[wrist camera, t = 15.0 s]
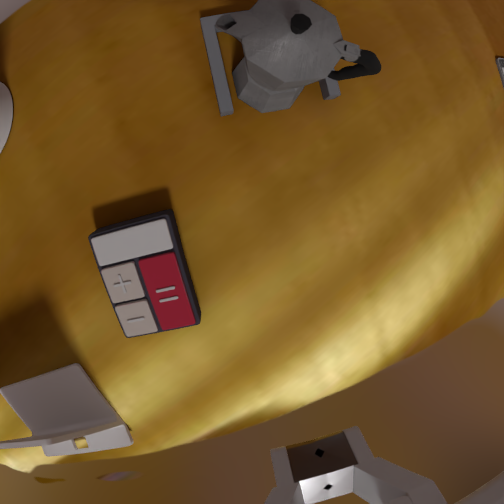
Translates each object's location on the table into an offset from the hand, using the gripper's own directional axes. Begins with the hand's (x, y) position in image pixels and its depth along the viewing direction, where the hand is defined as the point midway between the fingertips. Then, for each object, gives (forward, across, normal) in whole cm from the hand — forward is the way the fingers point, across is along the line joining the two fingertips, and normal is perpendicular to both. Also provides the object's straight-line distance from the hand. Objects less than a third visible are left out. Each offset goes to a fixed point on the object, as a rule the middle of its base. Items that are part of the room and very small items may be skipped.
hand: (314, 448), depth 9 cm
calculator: (+34, +13, +2) cm, 36 cm away
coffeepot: (+33, -8, -19) cm, 39 cm away
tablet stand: (+34, +41, +24) cm, 58 cm away
